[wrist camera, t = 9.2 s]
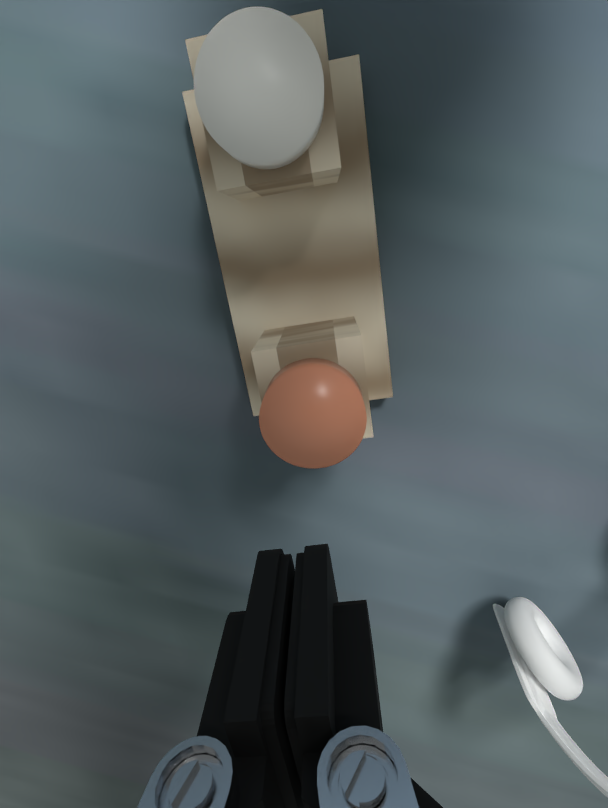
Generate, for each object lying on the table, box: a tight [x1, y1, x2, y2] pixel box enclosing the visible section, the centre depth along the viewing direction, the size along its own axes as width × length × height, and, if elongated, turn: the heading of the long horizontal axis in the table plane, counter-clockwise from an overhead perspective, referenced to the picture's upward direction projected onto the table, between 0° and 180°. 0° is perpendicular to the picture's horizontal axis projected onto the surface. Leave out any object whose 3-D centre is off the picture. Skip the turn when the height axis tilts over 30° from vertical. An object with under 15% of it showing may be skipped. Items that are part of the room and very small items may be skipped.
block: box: [182, 9, 393, 438], centre depth 26 cm, size 20×10×8 cm, turn 9°
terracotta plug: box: [259, 358, 367, 468], centre depth 25 cm, size 5×5×8 cm
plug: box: [194, 7, 324, 169], centre depth 21 cm, size 5×5×8 cm
